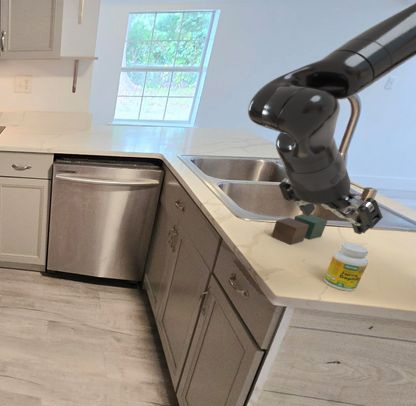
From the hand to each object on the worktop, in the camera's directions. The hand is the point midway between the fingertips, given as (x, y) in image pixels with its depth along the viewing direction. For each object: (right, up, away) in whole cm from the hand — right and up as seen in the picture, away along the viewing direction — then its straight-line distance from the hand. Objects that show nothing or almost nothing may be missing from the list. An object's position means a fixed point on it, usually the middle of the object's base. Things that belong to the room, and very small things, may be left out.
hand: (334, 220), depth 71 cm
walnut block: (+16, -6, +29) cm, 34 cm away
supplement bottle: (+12, -15, +11) cm, 22 cm away
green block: (+23, -5, +32) cm, 40 cm away
